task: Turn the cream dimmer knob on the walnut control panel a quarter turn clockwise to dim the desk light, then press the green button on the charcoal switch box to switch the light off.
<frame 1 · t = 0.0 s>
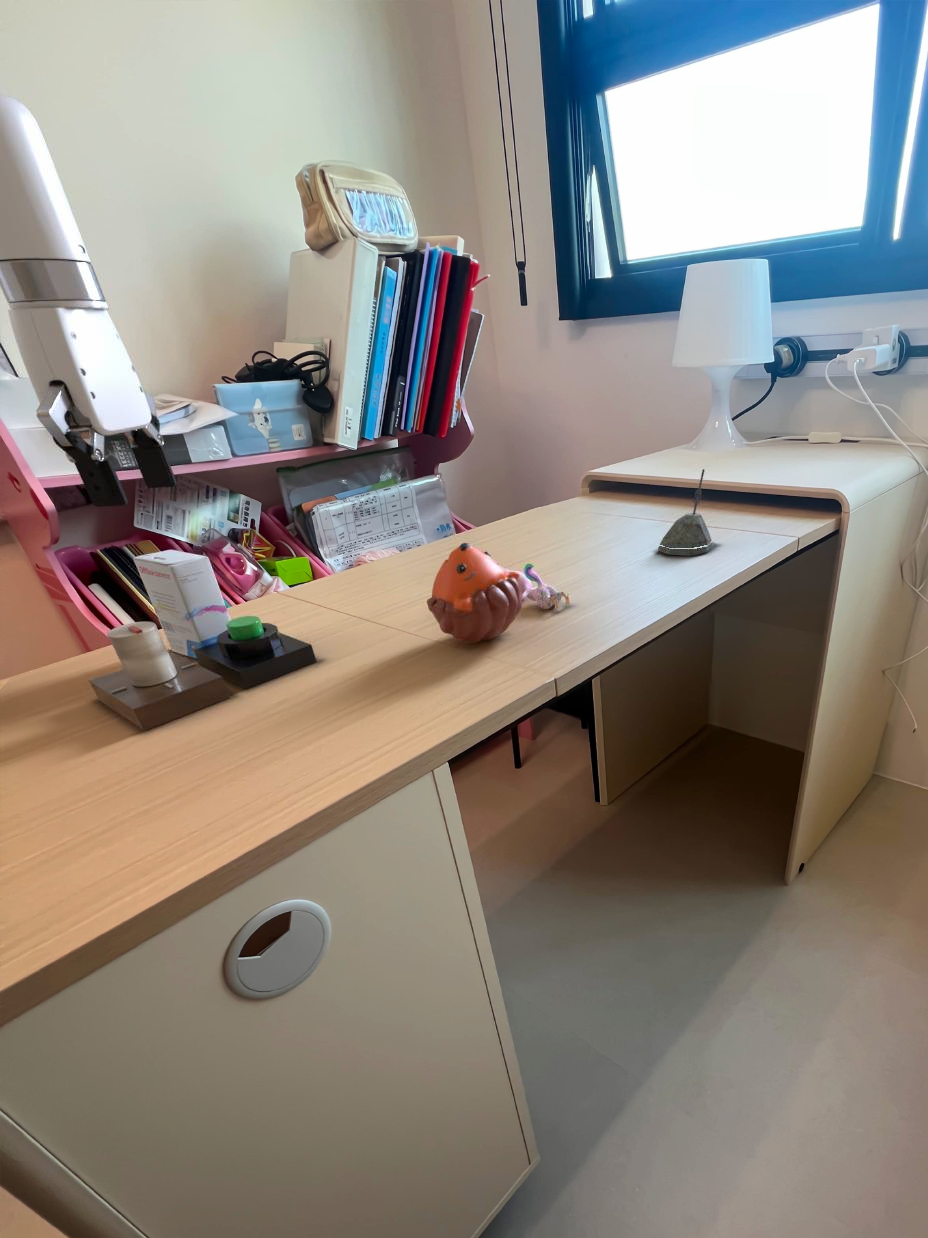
hand: (138, 495, 68), 19 cm above the table, tool pointing down, fingers open, 9 cm apart
switch box: (258, 664, 78), on the table
pink plastic figure: (523, 602, 93), on the table
off button: (245, 628, 76), point 5 cm above the table, slide at 0.2 cm
dimmer knob: (142, 652, 68), point 5 cm above the table, hinge at 0.0°
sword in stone: (688, 550, 112), on the table
dimmer panel: (164, 699, 72), on the table
ink box: (208, 651, 83), on the table
orange toy creature: (482, 638, 83), on the table
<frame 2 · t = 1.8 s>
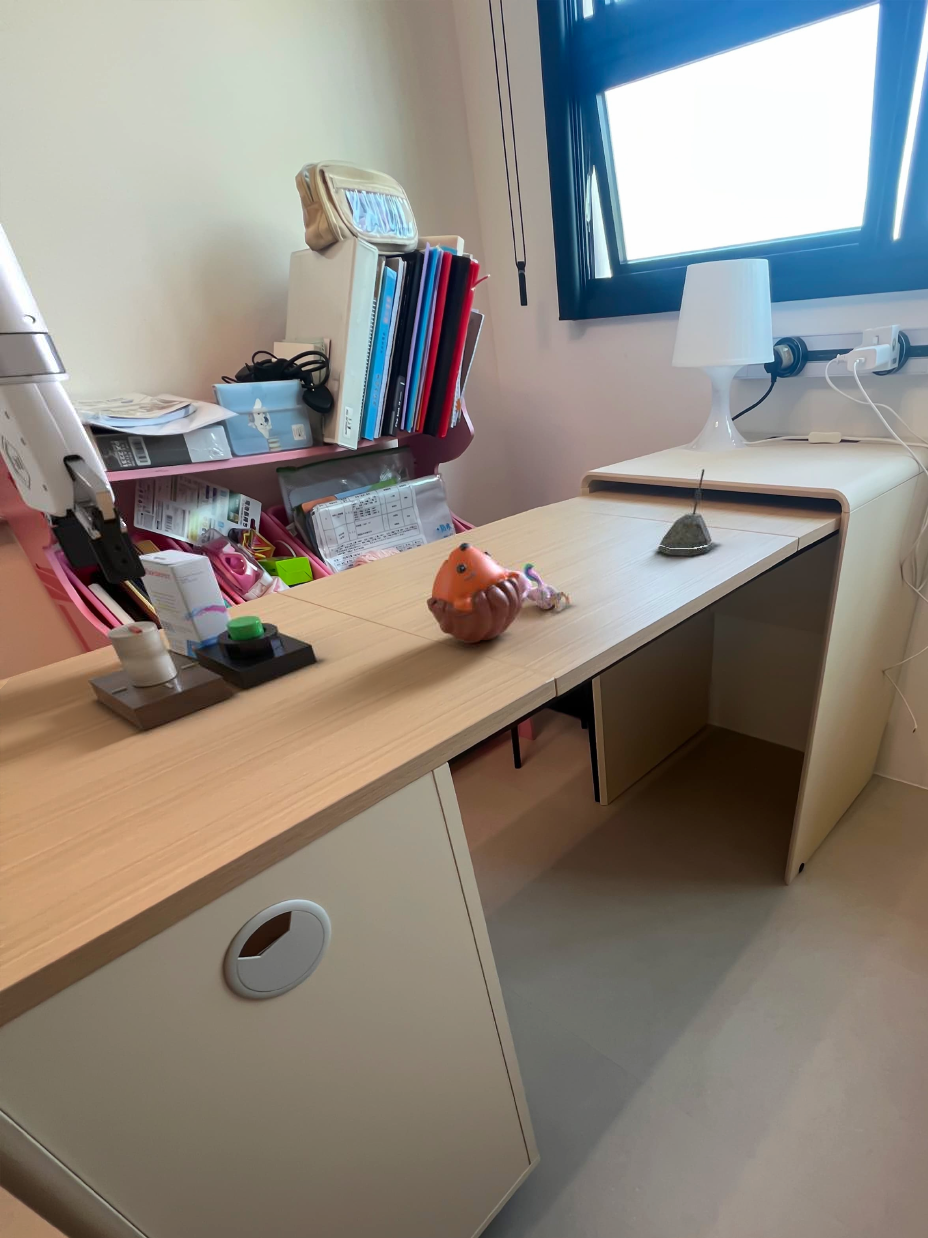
hand: (108, 572, 64), 14 cm above the table, tool pointing down, fingers open, 9 cm apart
nothing on the table moved.
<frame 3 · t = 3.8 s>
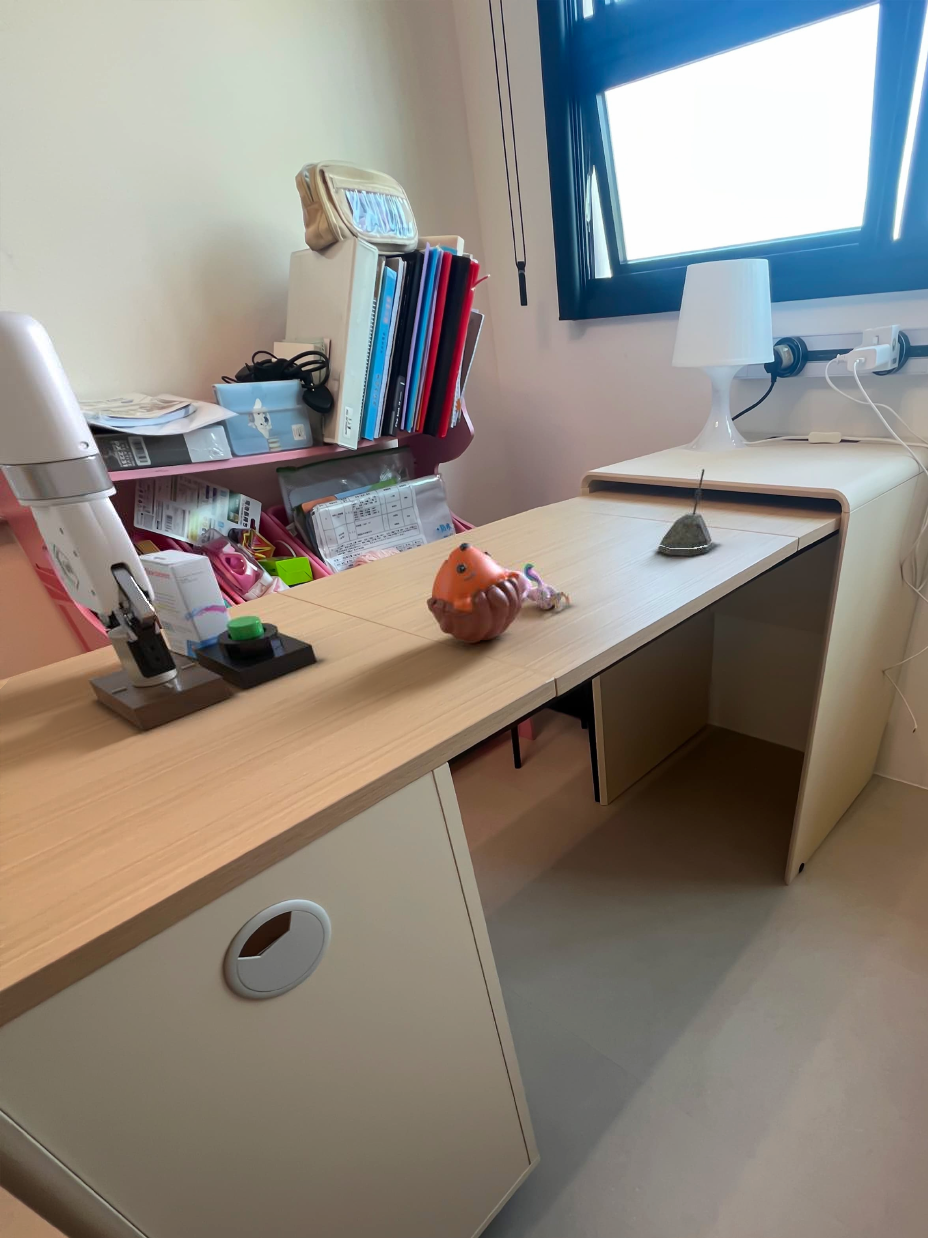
hand: (149, 665, 69), 4 cm above the table, tool pointing down, fingers closed on dimmer knob, 4 cm apart
dimmer knob: (142, 652, 68), point 5 cm above the table, hinge at -0.2°, touching gripper
everything else where it was.
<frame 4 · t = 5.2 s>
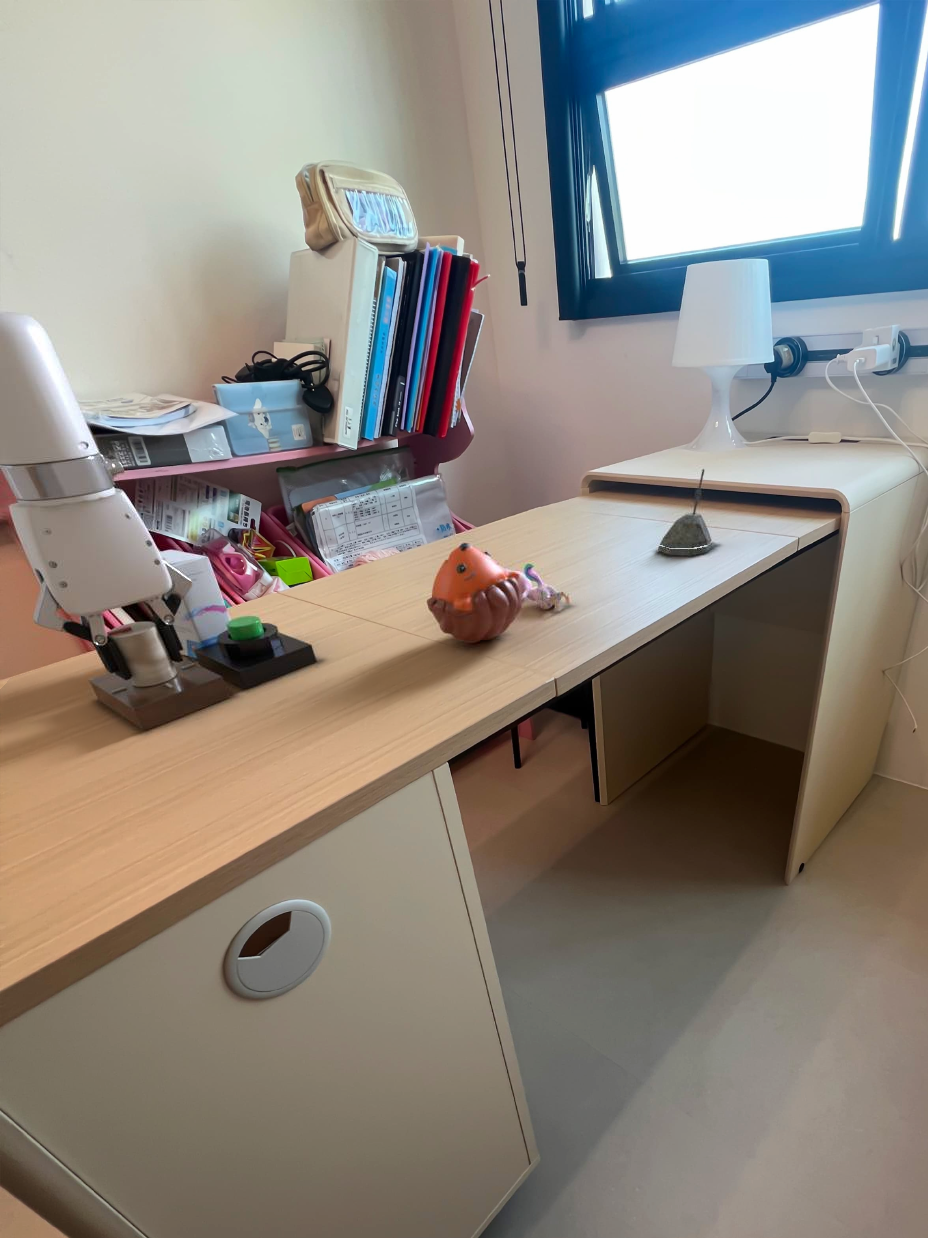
hand: (149, 665, 69), 4 cm above the table, tool pointing down, fingers closed on dimmer knob, 4 cm apart
dimmer knob: (142, 652, 68), point 5 cm above the table, hinge at -90.1°, touching gripper
everything else where it was.
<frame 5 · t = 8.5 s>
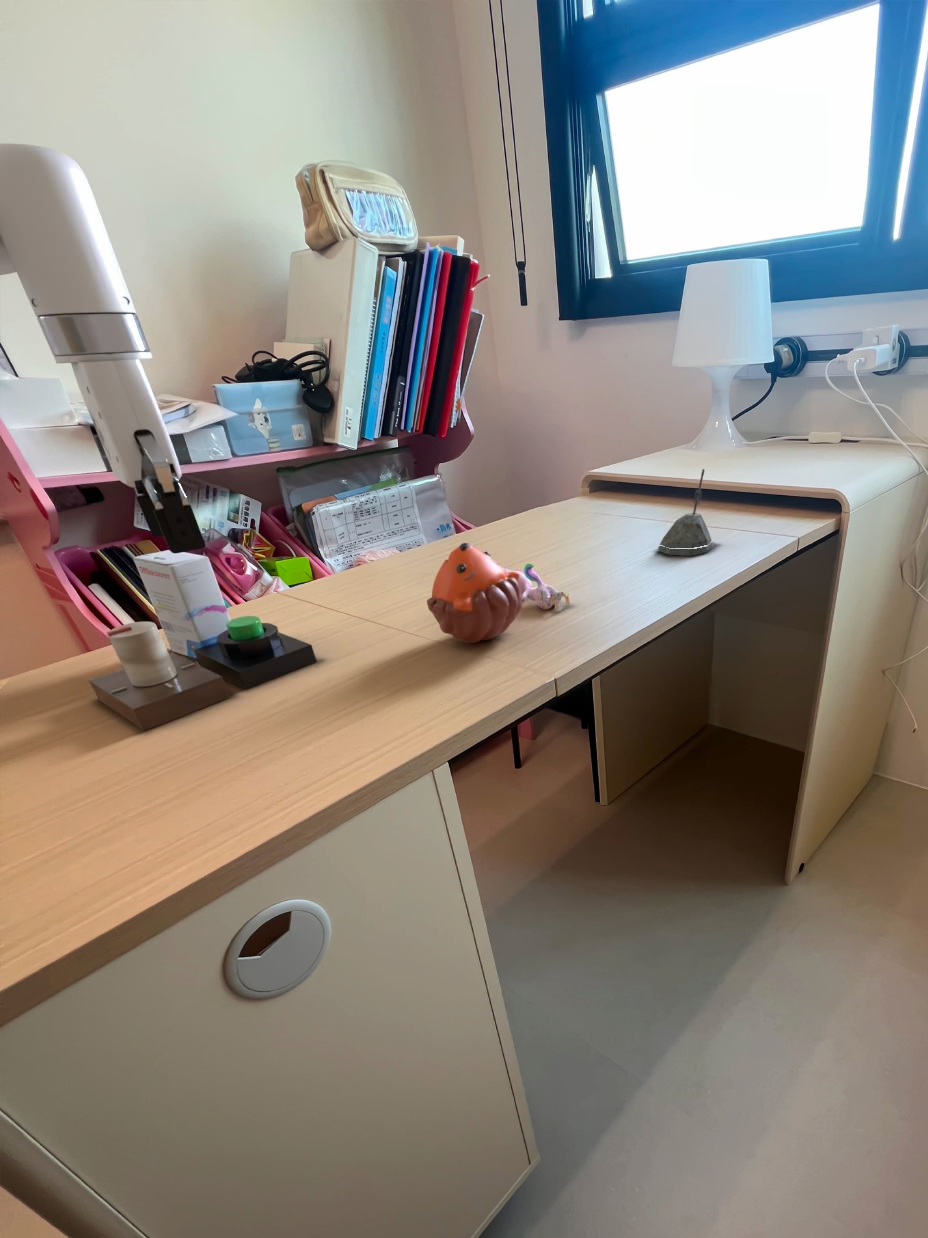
hand: (178, 541, 68), 15 cm above the table, tool pointing down, fingers open, 9 cm apart
dimmer knob: (142, 652, 68), point 5 cm above the table, hinge at -88.5°
everything else where it was.
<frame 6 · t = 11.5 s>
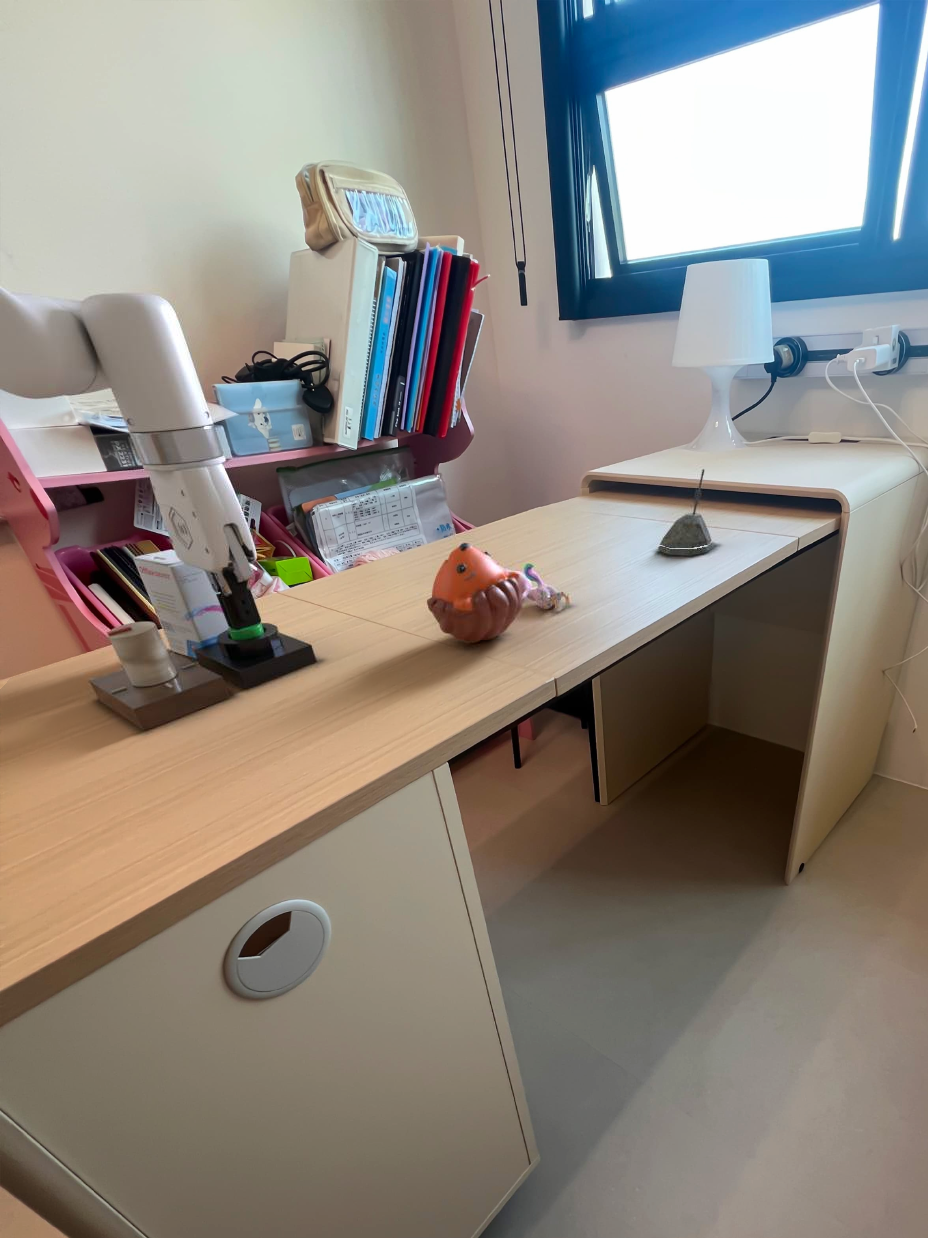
hand: (245, 624, 76), 5 cm above the table, tool pointing down, fingers closed
off button: (247, 632, 76), point 4 cm above the table, slide at -0.4 cm, touching gripper
everything else where it was.
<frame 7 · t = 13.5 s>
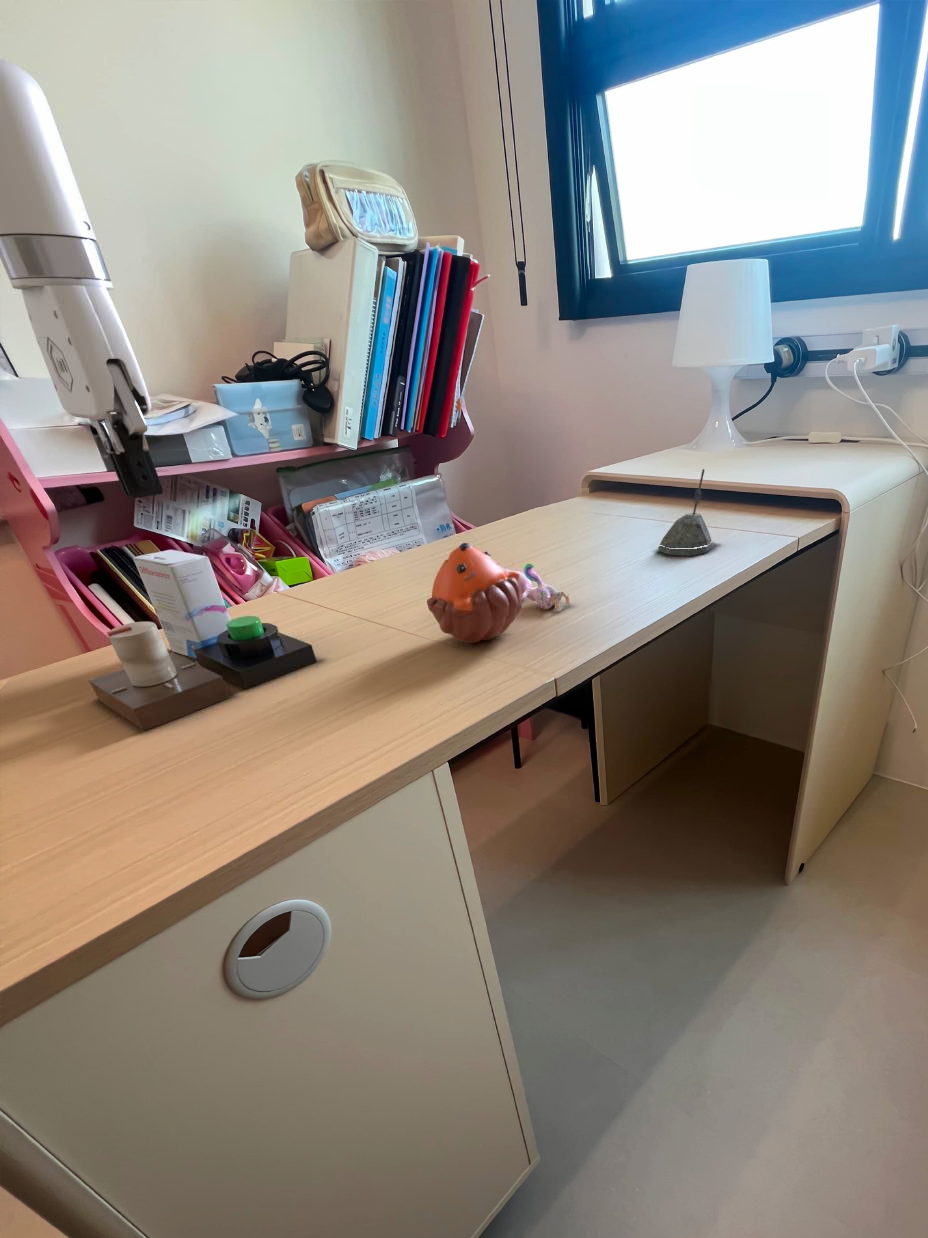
hand: (145, 494, 67), 19 cm above the table, tool pointing down, fingers closed
off button: (245, 628, 76), point 5 cm above the table, slide at 0.2 cm
everything else where it was.
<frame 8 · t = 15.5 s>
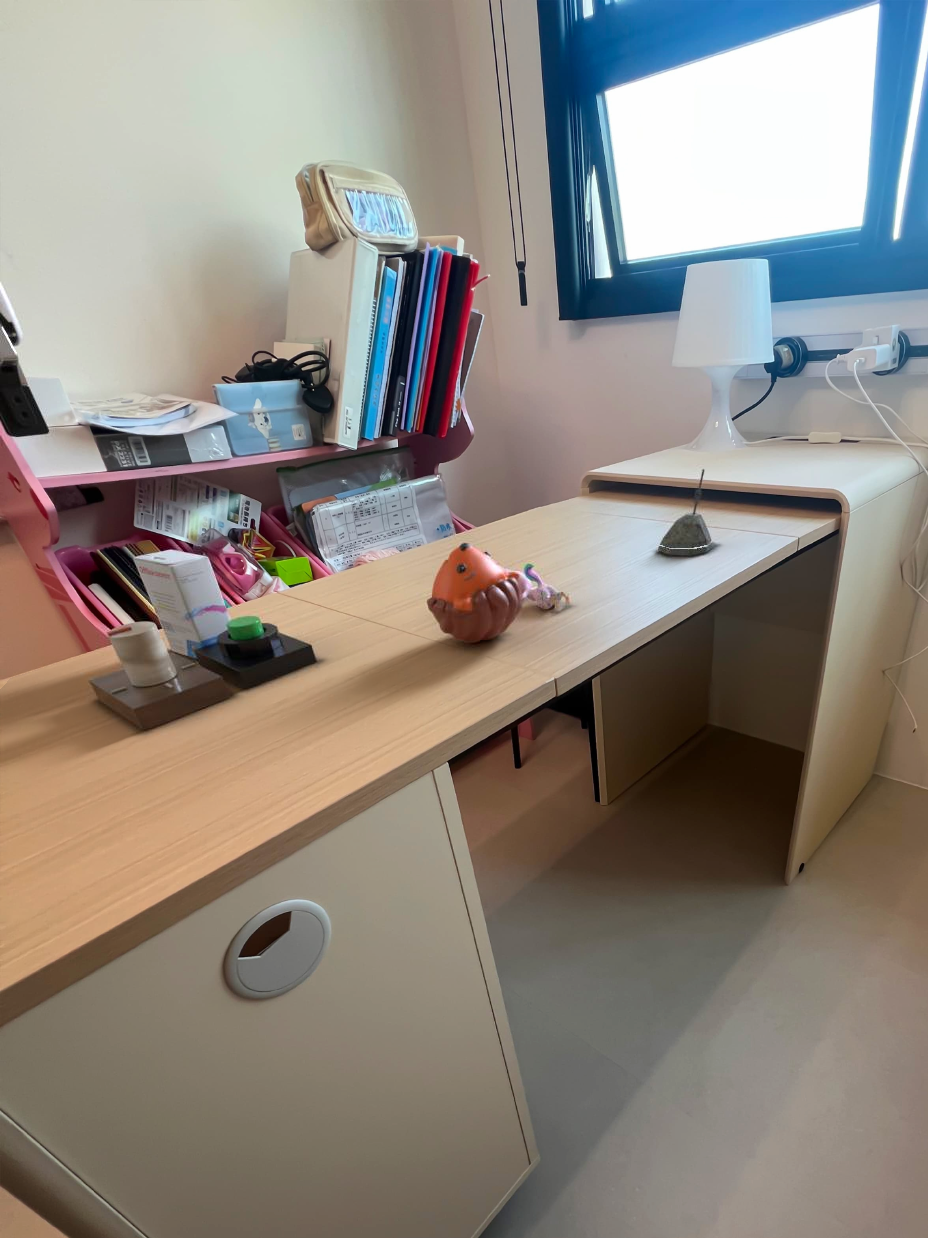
hand: (29, 434, 64), 25 cm above the table, tool pointing down, fingers closed
nothing on the table moved.
at the end: dimmer knob at -88° (first picture: +0°); off button pushed in 1.1 cm at the most during the clip, back to 0.2 cm at the end; off button slide at 0.2 cm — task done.
